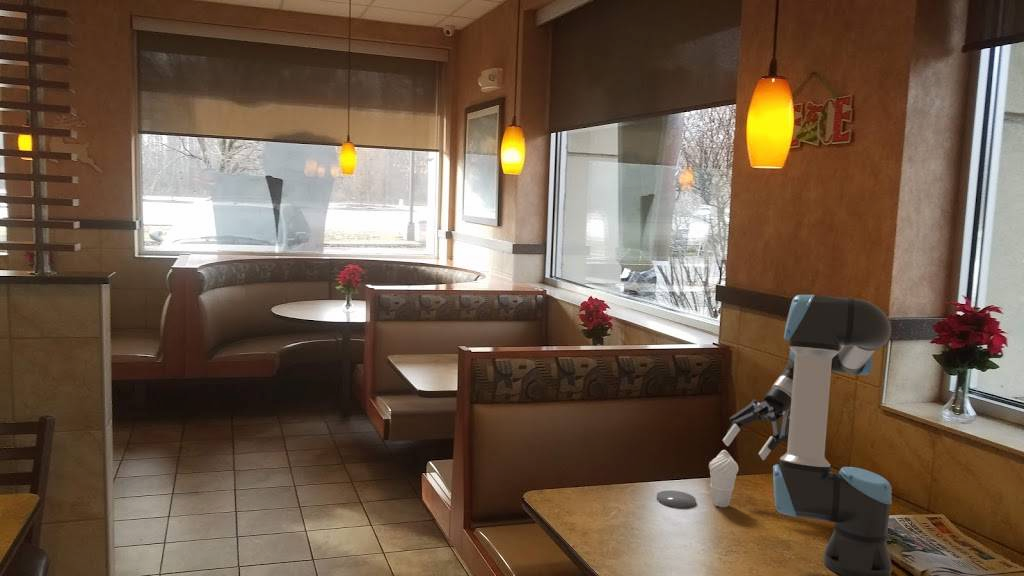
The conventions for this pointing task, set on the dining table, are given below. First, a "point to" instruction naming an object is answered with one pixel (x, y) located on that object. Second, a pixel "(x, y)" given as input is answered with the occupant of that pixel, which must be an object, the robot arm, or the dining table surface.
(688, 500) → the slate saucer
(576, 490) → the dining table surface
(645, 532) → the dining table surface
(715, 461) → the soft serve ice cream cone
